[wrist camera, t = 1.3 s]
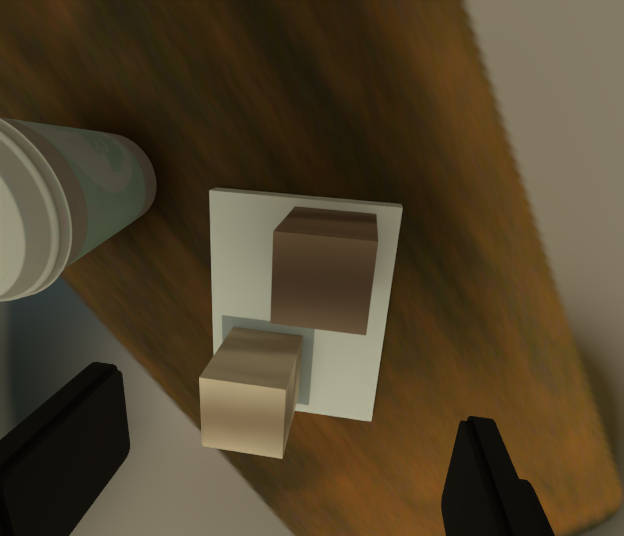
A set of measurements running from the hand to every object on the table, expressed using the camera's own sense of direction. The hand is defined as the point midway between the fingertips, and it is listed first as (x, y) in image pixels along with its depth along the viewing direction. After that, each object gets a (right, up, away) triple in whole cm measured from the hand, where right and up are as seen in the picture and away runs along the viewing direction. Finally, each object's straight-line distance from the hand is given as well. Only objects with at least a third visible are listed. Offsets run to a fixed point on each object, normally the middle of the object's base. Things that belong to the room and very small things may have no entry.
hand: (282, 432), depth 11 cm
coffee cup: (-12, +11, +16) cm, 23 cm away
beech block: (-2, -2, +18) cm, 18 cm away
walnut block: (+2, +6, +14) cm, 16 cm away
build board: (0, +2, +18) cm, 18 cm away
